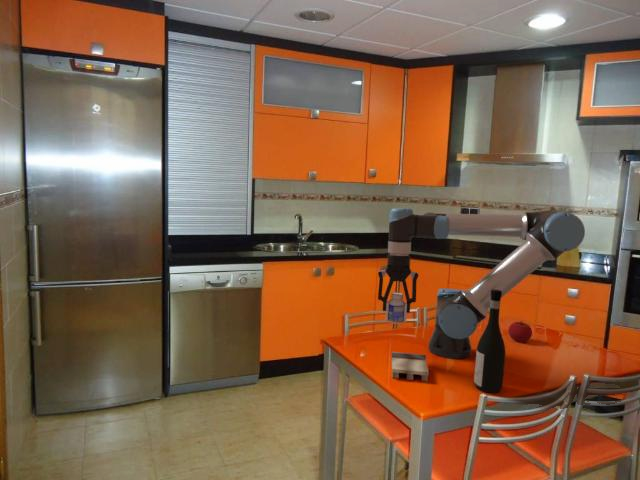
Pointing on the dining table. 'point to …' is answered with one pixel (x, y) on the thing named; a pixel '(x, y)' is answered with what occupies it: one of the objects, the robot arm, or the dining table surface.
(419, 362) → the dock
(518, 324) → the tomato
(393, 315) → the pill bottle
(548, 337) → the dining table surface
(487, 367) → the wine bottle
